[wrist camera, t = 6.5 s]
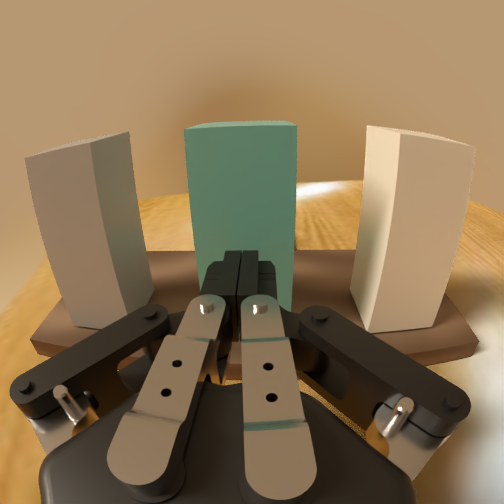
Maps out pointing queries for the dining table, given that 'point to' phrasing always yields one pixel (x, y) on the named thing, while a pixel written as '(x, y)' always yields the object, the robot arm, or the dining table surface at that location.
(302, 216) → the dining table surface
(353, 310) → the dark wooden board
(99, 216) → the tall grey rectangular prism
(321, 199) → the dining table surface
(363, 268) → the cream tall rectangular block
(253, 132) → the tall teal pillar
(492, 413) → the dining table surface
